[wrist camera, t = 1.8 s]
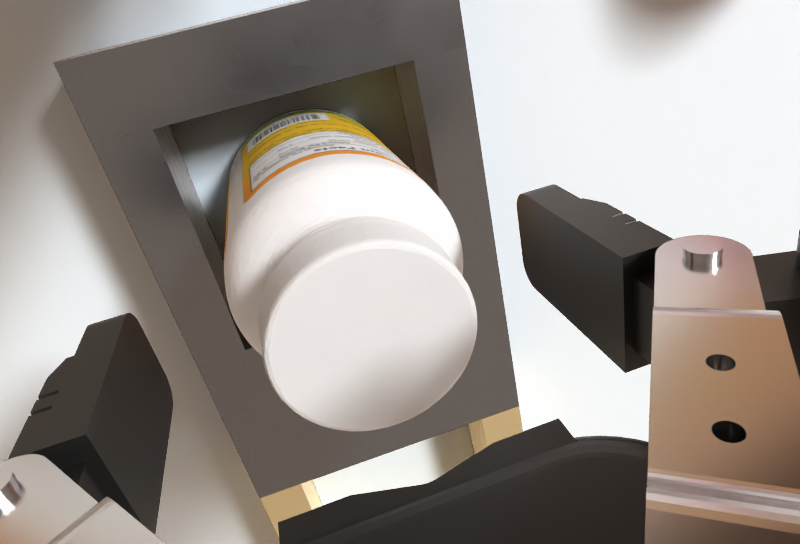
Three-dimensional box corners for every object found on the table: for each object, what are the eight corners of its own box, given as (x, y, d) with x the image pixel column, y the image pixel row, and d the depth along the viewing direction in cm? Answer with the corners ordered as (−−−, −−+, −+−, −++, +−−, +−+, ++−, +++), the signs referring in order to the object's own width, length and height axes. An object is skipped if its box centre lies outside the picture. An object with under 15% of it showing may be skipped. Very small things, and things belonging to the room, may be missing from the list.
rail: (425, -31, 17) (453, -36, 15) (516, 506, 28) (539, 549, 26) (79, 54, 16) (53, 62, 13) (317, 581, 26) (324, 634, 24)
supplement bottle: (347, 287, 21) (425, 488, 12) (200, 228, 18) (167, 423, 10) (421, 153, 19) (569, 274, 11) (272, 72, 17) (307, 142, 8)
